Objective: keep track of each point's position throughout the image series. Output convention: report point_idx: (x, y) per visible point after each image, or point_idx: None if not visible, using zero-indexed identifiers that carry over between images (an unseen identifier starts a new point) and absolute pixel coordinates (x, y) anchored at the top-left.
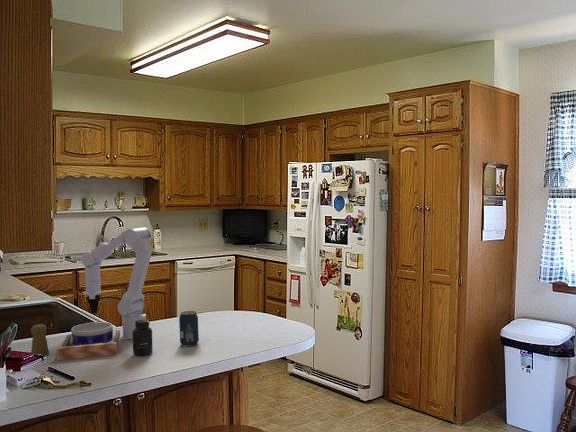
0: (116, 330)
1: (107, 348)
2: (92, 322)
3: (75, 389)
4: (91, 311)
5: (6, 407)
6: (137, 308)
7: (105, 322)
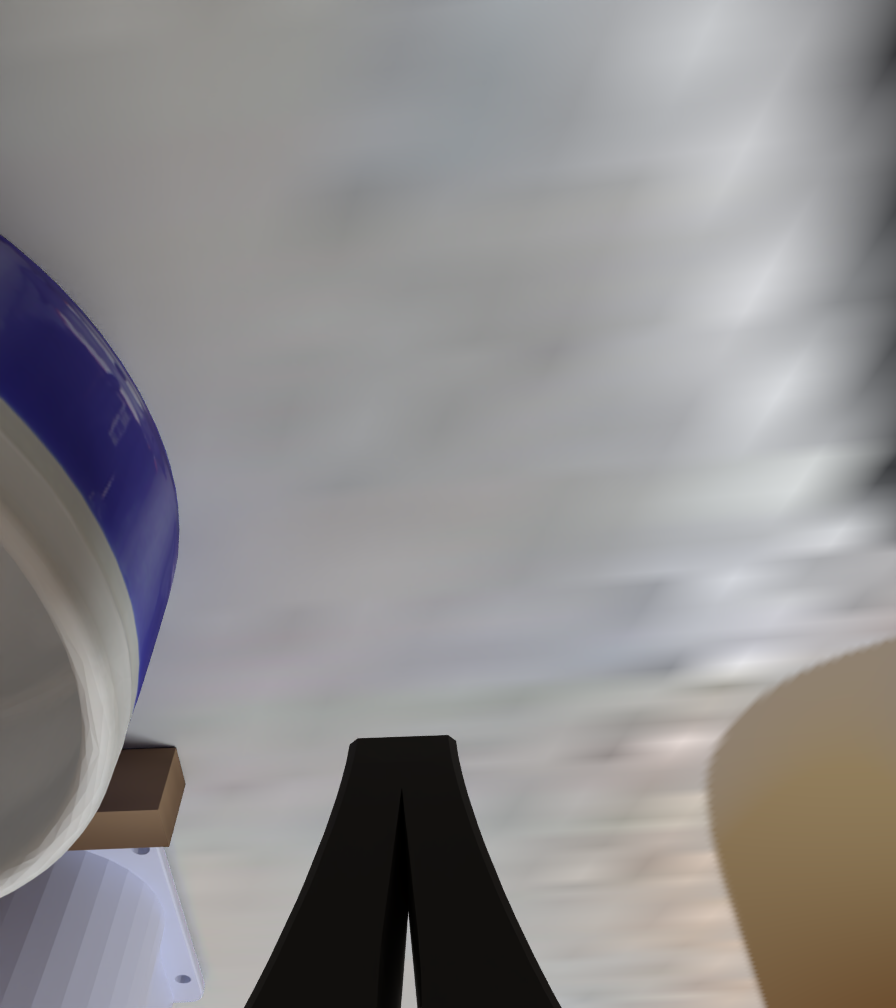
0: (150, 816)
1: None
2: (73, 644)
3: None
4: (340, 799)
5: None
6: None
7: (45, 846)
